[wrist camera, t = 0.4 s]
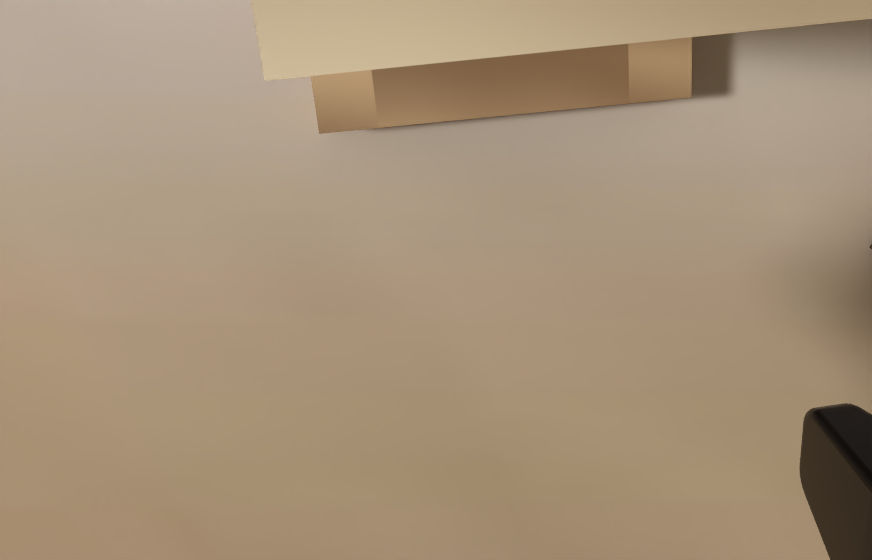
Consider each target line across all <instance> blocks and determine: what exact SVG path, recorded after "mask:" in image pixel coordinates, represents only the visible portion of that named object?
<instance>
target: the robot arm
mask: <svg viewBox="0 0 872 560" xmlns="http://www.w3.org/2000/svg"><path fill="white" fill-rule="evenodd" d="M800 478H801V483H802V487H803V490H804V493H805V496H806V499H807V501H808V504H809V506H810V509H811V511H812V514H813V516H814V519H815V522H816V524H817V527H818V529H819V532H820V534H821V537H822V540H823V542H824V545H825V547H826V550H827V552H828V555H829V557H830V560H872V415H871V414H870V413H868V412H866V411H865V410H863V409H861V408H860V407H858V406H855V405H852V404H838V405H831V406H824V407H817V408H812V409H810V410H809V411H808V412H807V413H806V415H805V417H804V422H803V433H802V445H801V457H800Z"/></svg>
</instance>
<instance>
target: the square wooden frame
mask: <svg viewBox="0 0 872 560" xmlns="http://www.w3.org/2000/svg"><path fill="white" fill-rule="evenodd" d="M311 81H312V88H313V94H314V101H315V108H316V114H317V121H318V128H319V134H321V133H331V132H341V131H351V130H362V129H372V128H382V127H392V126H403V125H413V124H423V123H433V122H444V121H454V120H464V119H474V118H485V117H495V116H505V115H515V114H526V113H536V112H546V111H556V110H567V109H577V108H587V107H597V106H608V105H618V104H628V103H638V102H649V101H659V100H669V99H679V98H690V97H691V88H692V37H688V38H678V39H668V40H658V41H649V42H639V43H629V44H619V45H610V46H600V47H590V48H580V49H570V50H561V51H551V52H541V53H531V54H521V55H512V56H502V57H492V58H482V59H473V60H463V61H453V62H443V63H433V64H424V65H414V66H404V67H394V68H385V69H375V70H365V71H355V72H345V73H336V74H326V75H316V76H311Z"/></svg>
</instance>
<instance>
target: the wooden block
mask: <svg viewBox="0 0 872 560" xmlns="http://www.w3.org/2000/svg"><path fill="white" fill-rule="evenodd" d="M251 3H252V9H253V15H254V20H255V26H256V32H257V38H258V44H259V50H260V56H261V62H262V67H263V73H264V79H265V81H267V80H277V79H287V78H297V77H306V76H316V75H326V74H336V73H345V72H355V71H365V70H375V69H385V68H394V67H404V66H414V65H424V64H433V63H443V62H453V61H463V60H473V59H482V58H492V57H502V56H512V55H521V54H531V53H541V52H551V51H561V50H570V49H580V48H590V47H600V46H610V45H619V44H629V43H639V42H649V41H658V40H668V39H678V38H688V37H698V36H707V35H717V34H727V33H737V32H746V31H756V30H766V29H776V28H786V27H795V26H805V25H815V24H825V23H834V22H844V21H854V20H864V19H872V0H251Z"/></svg>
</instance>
